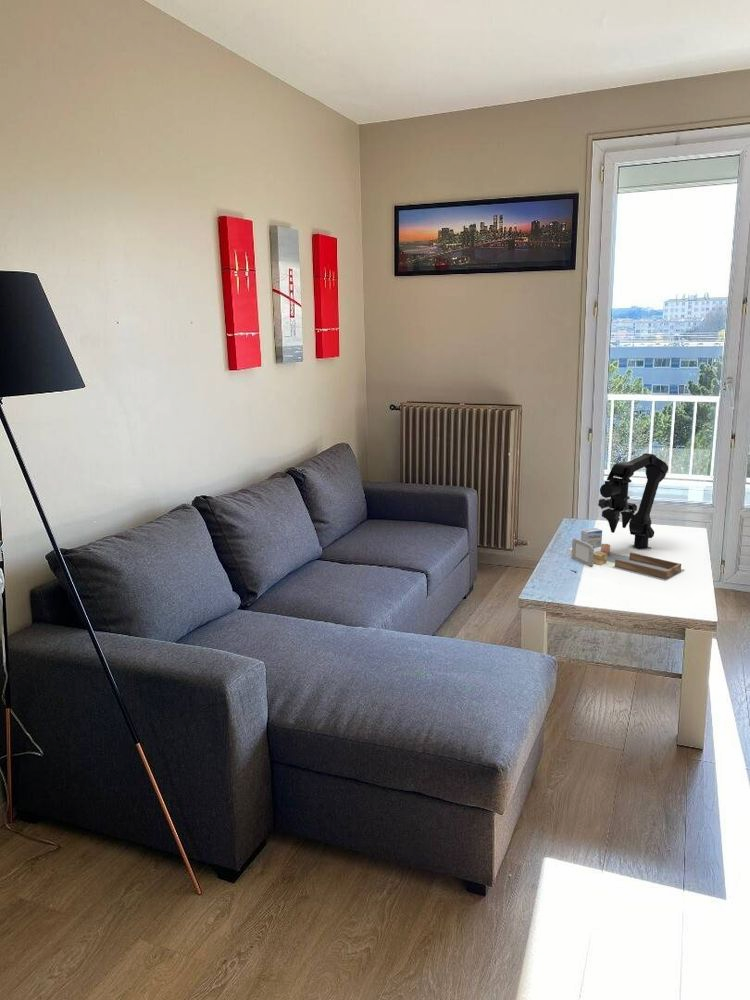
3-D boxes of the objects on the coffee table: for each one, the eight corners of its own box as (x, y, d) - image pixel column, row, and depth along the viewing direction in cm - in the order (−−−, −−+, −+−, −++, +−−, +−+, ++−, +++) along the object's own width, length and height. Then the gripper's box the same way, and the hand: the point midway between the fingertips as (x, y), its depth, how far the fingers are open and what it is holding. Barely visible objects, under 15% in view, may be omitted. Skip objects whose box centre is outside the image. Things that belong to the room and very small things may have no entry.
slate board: (601, 553, 323) (602, 550, 323) (685, 572, 297) (685, 569, 297) (580, 562, 312) (580, 559, 311) (665, 584, 286) (665, 581, 286)
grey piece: (555, 563, 312) (556, 540, 309) (573, 560, 315) (575, 537, 313) (574, 573, 300) (576, 549, 298) (593, 569, 303) (595, 546, 301)
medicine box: (586, 551, 325) (587, 532, 323) (580, 548, 329) (581, 529, 327) (601, 549, 328) (602, 530, 326) (595, 546, 332) (596, 527, 330)
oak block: (597, 560, 310) (598, 551, 309) (606, 563, 307) (606, 553, 306) (592, 562, 307) (592, 553, 306) (600, 565, 304) (601, 555, 303)
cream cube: (571, 555, 321) (572, 546, 320) (580, 556, 319) (581, 547, 318) (568, 558, 318) (569, 549, 317) (578, 559, 316) (578, 550, 315)
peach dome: (603, 552, 320) (604, 543, 319) (611, 554, 318) (611, 544, 317) (599, 554, 318) (599, 545, 317) (606, 556, 315) (607, 546, 314)
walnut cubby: (630, 559, 311) (630, 552, 310) (680, 571, 296) (681, 564, 295) (614, 566, 302) (615, 559, 302) (665, 579, 287) (666, 572, 286)
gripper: (614, 487, 322) (612, 522, 326) (591, 494, 310) (589, 531, 313) (638, 491, 314) (636, 526, 318) (615, 499, 302) (613, 536, 306)
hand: (618, 530), depth 314 cm, fingers open, 9 cm apart
